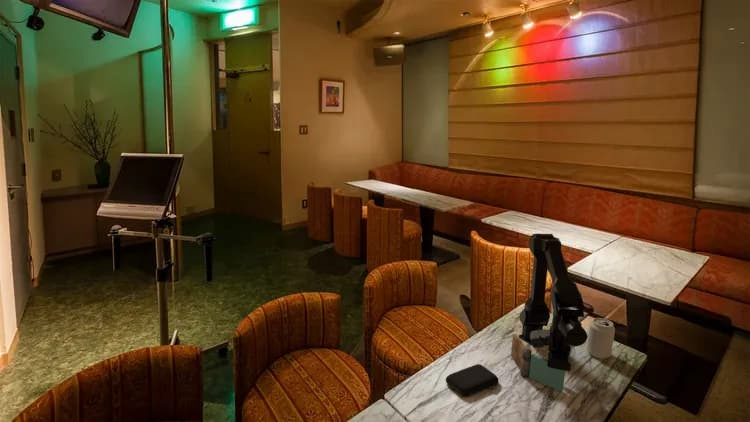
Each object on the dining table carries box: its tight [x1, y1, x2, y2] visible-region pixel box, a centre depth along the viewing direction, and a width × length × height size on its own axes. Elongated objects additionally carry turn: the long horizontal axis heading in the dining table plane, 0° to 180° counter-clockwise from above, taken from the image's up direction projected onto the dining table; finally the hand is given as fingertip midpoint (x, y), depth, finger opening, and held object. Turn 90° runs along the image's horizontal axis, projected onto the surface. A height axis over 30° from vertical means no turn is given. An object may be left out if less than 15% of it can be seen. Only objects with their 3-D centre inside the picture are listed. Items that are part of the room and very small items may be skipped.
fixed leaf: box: [510, 333, 533, 379], centre depth 141 cm, size 12×3×9 cm, turn 3°
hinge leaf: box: [521, 353, 566, 393], centre depth 133 cm, size 13×3×8 cm, turn 46°
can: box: [586, 317, 616, 360], centre depth 148 cm, size 8×8×12 cm
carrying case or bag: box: [445, 363, 500, 398], centre depth 133 cm, size 11×3×15 cm
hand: (556, 373), depth 134 cm, fingers closed
